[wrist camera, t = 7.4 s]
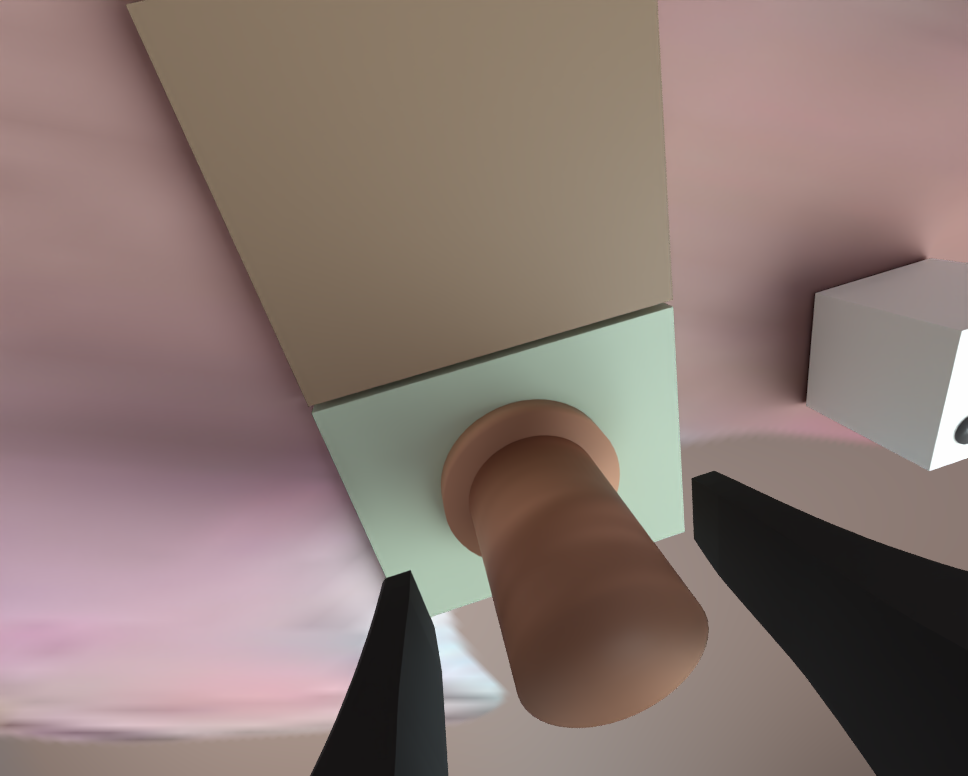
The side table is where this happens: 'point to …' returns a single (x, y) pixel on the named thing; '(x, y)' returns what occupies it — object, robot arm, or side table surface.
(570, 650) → the pawn
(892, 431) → the die
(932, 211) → the side table surface
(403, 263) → the board
